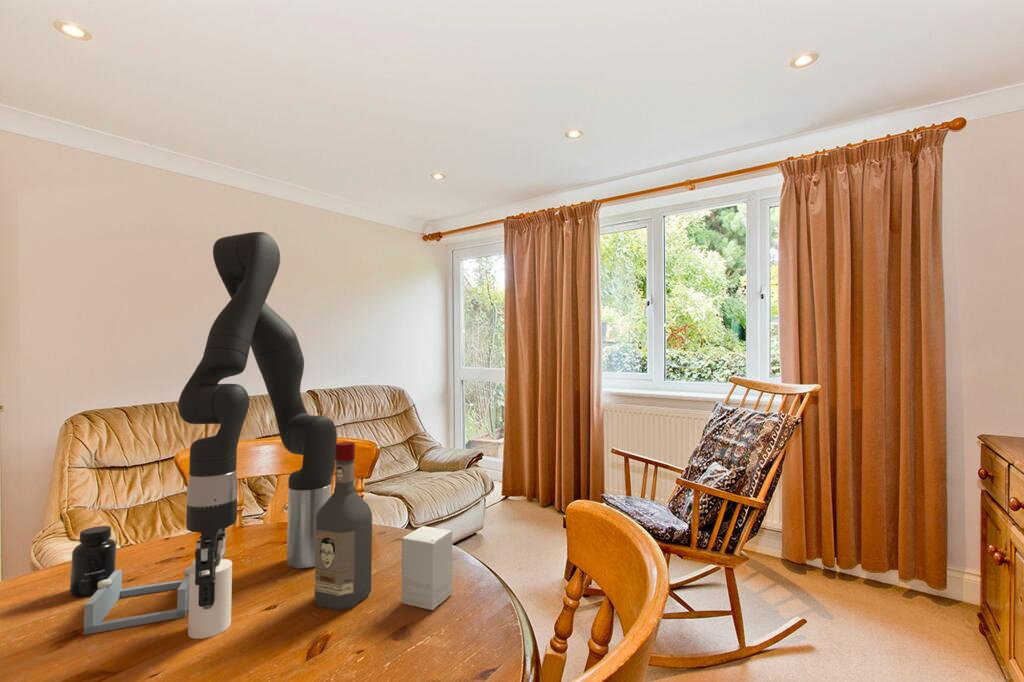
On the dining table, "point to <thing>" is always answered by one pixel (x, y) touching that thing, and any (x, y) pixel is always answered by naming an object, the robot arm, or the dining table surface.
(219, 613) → the candle
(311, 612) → the dining table surface
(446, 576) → the supplement box
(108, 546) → the supplement bottle
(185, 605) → the holder
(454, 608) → the dining table surface
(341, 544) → the liquor
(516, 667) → the dining table surface
